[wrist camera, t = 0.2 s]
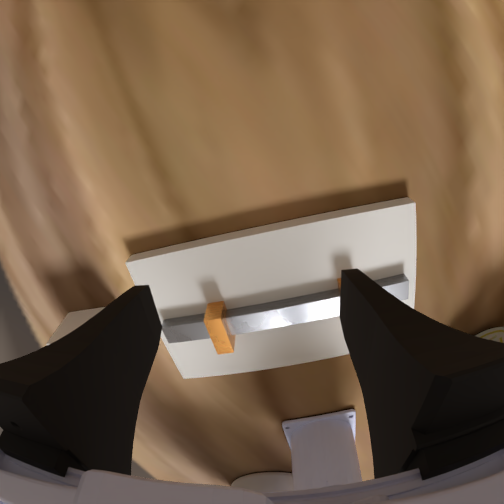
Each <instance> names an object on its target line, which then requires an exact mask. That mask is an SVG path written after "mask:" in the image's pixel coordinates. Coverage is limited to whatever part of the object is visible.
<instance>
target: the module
mask: <svg viewBox="0 0 504 504" xmlns="http://www.w3.org/2000/svg"><path fill="white" fill-rule="evenodd" d="M104 308H105V307H101V308H94V309H88V310H81V311H75V312H69V313H68V314H67V315H66V317H65V318H64V319H63V321H62V322H61V324H60V325H59V326H58V328H57V329H56V331H55V332H54V333H53V335H52V336H51V338H50V339H49V341H48V342H47V345H49V344H51V343H53V342H55V341H57V340H59V339H60V338H62V337H64V336H65V335H67V334H69V333H70V332H72V331H73V330H75V329H77V328H78V327H79V326H81V325H82V324H84V323H85V322H86V321H88V320H89V319H90V318H92V317H93V316H95V315H96V314H97V313H99V312H100V311H101V310H103V309H104Z"/></svg>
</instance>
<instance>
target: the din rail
mask: <svg viewBox="0 0 504 504" xmlns="http://www.w3.org/2000/svg"><path fill="white" fill-rule="evenodd" d="M337 281H338V288H337V289H332V290H328V291H323V292H318V293H313V294H308V295H303V296H298V297H293V298H288V299H283V300H277V301H272V302H267V303H261V304H256V305H250V306H245V307H239V308H233V309H227V308H226V306H225V303H224V301H219V302H213V303H208V304H207V308H206V312H205V313H203V314H197V315H190V316H184V317H177V318H170V319H164V321H163V323H162V331H163V333H164V335H165V337H166V339H167V341H168V343H177V342H186V341H194V340H201V339H209V338H211V340H212V342H213V345H214V347H215V349H216V352H217V354H226V353H233V352H234V346H235V336H236V334H242V333H249V332H255V331H261V330H267V329H272V328H278V327H284V326H289V325H294V324H300V323H305V322H310V321H315V320H320V319H325V318H329V317H334V316H339V309H340V290H341V278H338V279H337ZM373 281H375V282H376V283H377V284H378V285H380V286H381V287H382V288H384V289H385V290H386V291H388V292H389V293H390V294H392V295H393V296H395V297H396V298H398V299H399V300H401V301H402V300H406V299H408V295H409V280H408V278H407V277H406V276H405V274H404V273H403V274H399V275H395V276H391V277H386V278H382V279H378V280H373Z"/></svg>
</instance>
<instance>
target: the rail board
mask: <svg viewBox="0 0 504 504" xmlns="http://www.w3.org/2000/svg"><path fill="white" fill-rule="evenodd" d="M126 265H127V268H128V270H129V272H130V274H131V277H132V279H133V281H134V283H135V285H136V286H137V285H149V287H150V290H151V293H152V296H153V300H154V303H155V306H156V309H157V312H158V315H159V318H160V321H161V324H162V323H163V321H164V319H170V318H177V317H184V316H190V315H197V314H203V313H205V312H206V308H207V304H208V303H213V302H219V301H224V303H225V306H226V308H227V309H233V308H239V307H245V306H250V305H256V304H261V303H267V302H272V301H277V300H283V299H288V298H293V297H298V296H303V295H308V294H313V293H318V292H323V291H328V290H332V289H337V288H338V281H337V279H338V278H341V270H346V269H356V268H357V269H359V270H360V271H362V272H363V273H364V274H366V275H367V276H368V277H369V278H371V279H372V280H378V279H382V278H386V277H391V276H395V275H399V274H403V273H404V274H405V276H406V277H407V278H408V280H409V295H408V299H406V300H402V302H404V303H405V304H407V305H408V306H410V307H411V308H413V309H414V301H415V283H416V205H415V202H414V201H413V200H411V199H410V198H409V197H405V198H400V199H395V200H389V201H384V202H379V203H373V204H368V205H363V206H358V207H352V208H347V209H342V210H337V211H332V212H327V213H322V214H317V215H312V216H307V217H302V218H297V219H292V220H288V221H283V222H278V223H273V224H268V225H264V226H259V227H254V228H250V229H245V230H240V231H236V232H231V233H226V234H222V235H217V236H213V237H208V238H204V239H199V240H195V241H190V242H186V243H181V244H177V245H172V246H168V247H164V248H159V249H155V250H151V251H146V252H142V253H138V254H133V255H131V256H130V257H129V259H128V260H127V261H126ZM161 338H162V340H163V342H164V344H165V346H166V348H167V350H168V351H169V353H170V355H171V357H172V359H173V361H174V362H175V364H176V366H177V368H178V370H179V371H180V373H181V375H182V377H183V378H184V379H188V378H200V377H210V376H219V375H228V374H236V373H244V372H252V371H259V370H266V369H272V368H278V367H285V366H290V365H296V364H302V363H307V362H313V361H318V360H323V359H328V358H333V357H337V356H342V355H347V354H350V353H349V350H348V348H347V345H346V342H345V339H344V335H343V331H342V326H341V321H340V316H334V317H329V318H325V319H320V320H315V321H310V322H305V323H300V324H294V325H289V326H284V327H278V328H272V329H267V330H261V331H255V332H249V333H242V334H236V336H235V346H234V352H233V353H226V354H217V352H216V349H215V347H214V345H213V342H212V340H211V338H209V339H201V340H194V341H186V342H177V343H168V341H167V339H166V337H165V335H164V333H163V331H161Z"/></svg>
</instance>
